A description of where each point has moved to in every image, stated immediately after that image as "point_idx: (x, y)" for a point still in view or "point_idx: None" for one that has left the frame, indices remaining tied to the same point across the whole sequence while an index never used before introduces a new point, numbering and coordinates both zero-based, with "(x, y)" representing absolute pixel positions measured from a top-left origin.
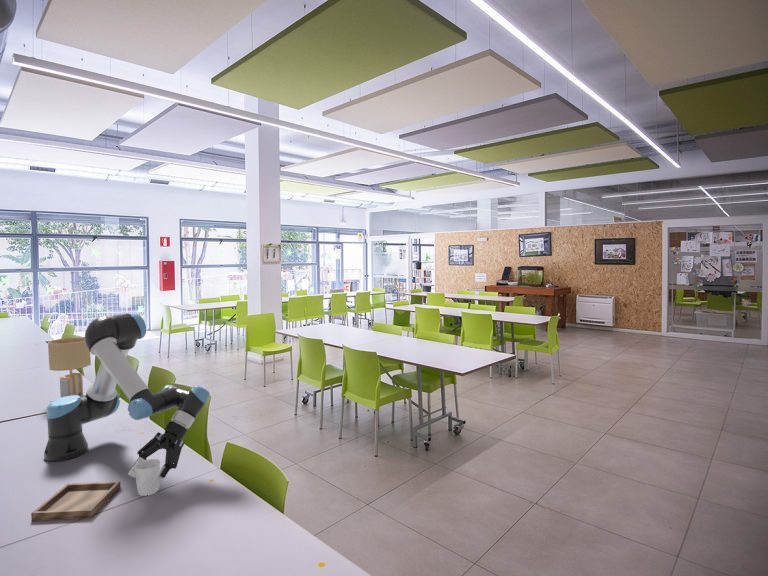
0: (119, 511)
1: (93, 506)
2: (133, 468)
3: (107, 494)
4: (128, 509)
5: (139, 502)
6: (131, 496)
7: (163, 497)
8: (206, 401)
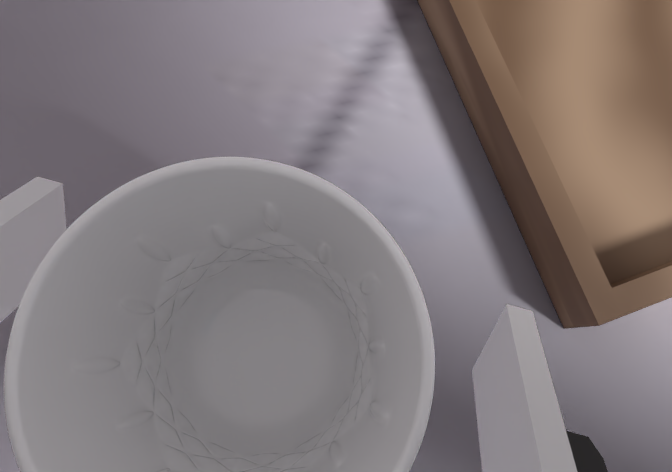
0: (269, 51)
1: None
2: (519, 370)
3: (497, 109)
4: (222, 86)
5: None
6: None
7: None
8: None
